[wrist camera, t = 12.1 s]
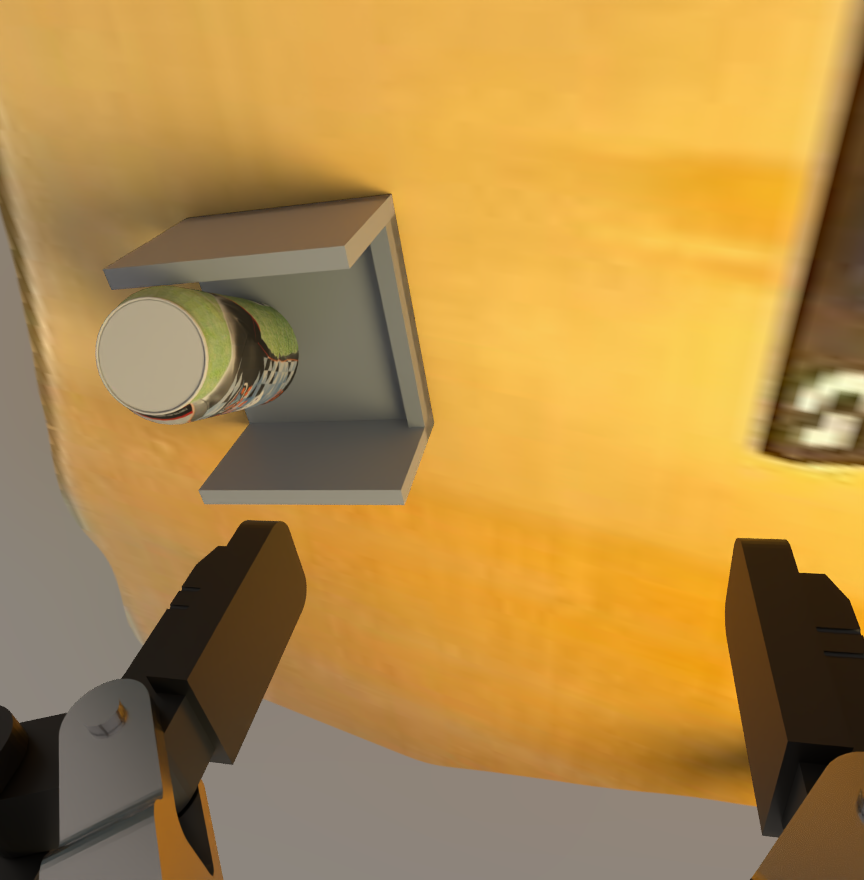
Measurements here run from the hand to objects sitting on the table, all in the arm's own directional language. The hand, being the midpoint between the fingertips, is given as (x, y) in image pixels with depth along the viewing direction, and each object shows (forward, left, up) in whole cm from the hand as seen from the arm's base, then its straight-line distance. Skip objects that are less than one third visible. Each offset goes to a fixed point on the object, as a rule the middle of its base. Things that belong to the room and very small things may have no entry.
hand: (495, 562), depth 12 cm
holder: (+6, -15, -26) cm, 30 cm away
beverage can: (+6, -18, -24) cm, 31 cm away
